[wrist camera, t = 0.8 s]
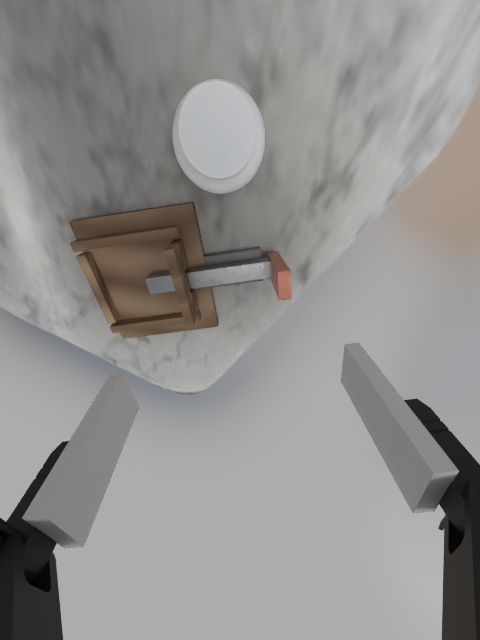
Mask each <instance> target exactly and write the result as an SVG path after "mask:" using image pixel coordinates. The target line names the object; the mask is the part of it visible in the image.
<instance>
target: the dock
mask: <svg viewBox="0 0 480 640" xmlns="http://www.w3.org/2000/svg"><path fill="white" fill-rule="evenodd" d="M69 223H70V226H71V228H72V230H73V232H74V234H75V236H76V239H77V240H76V241H74V242H71V243H70V245H71V247H72V249H73V251H74V252H78V251H82V252H83V253H82V254H80V255H78V256H76V257H77V259H78V261H79V263H80V266H81V268H82V270H83V272H84V274H85V276H86V278H87V280H88V282H89V284H90V286H91V288H92V291H93V293H94V295H95V297H96V299H97V301H98V303H99V305H100V307H101V309H102V311H103V313H104V316H105V318H106V320H107V322H108V324H110V323H113V324H112V325H111V326H110V328H111V330H112V332H113V333H117V332H120V334H121V336H122V338H123V339H125V338H133V337H140V336H148V335H155V334H163V333H171V332H178V331H186V330H194V329H201V328H209V327H216V326H218V318H217V313H216V308H215V303H214V298H213V293H212V289H211V287H218V286H225V285H232V284H240V283H247V282H254V281H261V280H263V279H259V280H252V281H244V282H237V283H230V284H222V285H215V286H208V287H201V288H193V289H190V288H189V284H188V280H187V276H186V272H185V269H187V268H194V267H201V266H209V265H216V264H223V263H230V262H237V261H244V260H251V259H258V258H261V249H260V247H255V248H248V249H241V250H234V251H227V252H220V253H213V254H206V255H204V250H203V245H202V240H201V235H200V231H199V226H198V221H197V216H196V211H195V206H194V202H193V203H186V204H180V205H173V206H166V207H160V208H153V209H146V210H140V211H133V212H126V213H120V214H113V215H106V216H100V217H93V218H87V219H80V220H74V221H70V222H69ZM166 271H170V274H171V278H172V281H173V284H174V288H175V291H171V292H164V293H157V294H150V292H149V289H148V286H147V283H146V281H145V278H146V277H147V276H148V275H149V274H152V273H159V272H166Z"/></svg>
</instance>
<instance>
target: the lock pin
mask: <svg viewBox="0 0 480 640" xmlns="http://www.w3.org/2000/svg"><path fill="white" fill-rule="evenodd" d="M185 272H186V276H187V280H188V284H189V288H190V289H193V288H201V287H208V286H215V285H222V284H230V283H237V282H244V281H252V280H259V279H266V278H270V279H271V281H272V284H273V286H274V289H275V291H276V294H277V296H278V299H279V300H285V299H291V280H290V269H289V268H288V266H287V265H286V263H285V262H284V260H283V259H282V257H281V256H280V254H279V253H278V252H272V253H268V257H266V258H258V259H251V260H244V261H237V262H230V263H223V264H216V265H209V266H201V267H194V268H187V269H185ZM145 281H146V283H147V286H148V289H149V292H150V294H157V293H164V292H171V291H175V288H174V284H173V281H172V278H171V274H170V271H166V272H159V273H152V274H149V275H148V276H147V277H146V278H145Z"/></svg>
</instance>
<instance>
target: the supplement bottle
mask: <svg viewBox="0 0 480 640" xmlns="http://www.w3.org/2000/svg"><path fill="white" fill-rule="evenodd" d="M172 140H173V147H174V152H175V155H176V158H177V161H178V163H179V165H180V167H181V169H182V170H183V172H184V173H185V175H186V176H187V177H188V178H189V179H190V180H191V181H192V182H193V183H194V184H195V185H197V186H198V187H199V188H201V189H203V190H205V191H207V192H210V193H215V194H227V193H231V192H234V191H237V190H239V189H240V188H242V187H243V186H245V185H246V184H247V183H248V182H249V181H250V180H251V179H252V178H253V177H254V175H255V174H256V172H257V171H258V169H259V167H260V164H261V162H262V159H263V155H264V150H265V128H264V123H263V120H262V116H261V114H260V111H259V109H258V107H257V105H256V103H255V102H254V100H253V99H252V97H251V96H250V95H249V94H248V93H247V92H246V91H245V90H244V89H243V88H242V87H240V86H239V85H237V84H236V83H234V82H231V81H229V80H225V79H208V80H204V81H202V82H200V83H198V84H196V85H195V86H193V87H192V88H191V89H190V90H189V91H188V92H187V93H186V94H185V95H184V96H183V98H182V99H181V101H180V103H179V105H178V107H177V109H176V112H175V116H174V120H173V127H172Z"/></svg>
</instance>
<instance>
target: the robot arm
mask: <svg viewBox="0 0 480 640" xmlns="http://www.w3.org/2000/svg"><path fill="white" fill-rule="evenodd" d="M341 382H342V384H343V385H344V387H345V389H346V391H347V393H348V395H349V397H350V399H351V400H352V402H353V404H354V406H355V408H356V410H357V411H358V413H359V415H360V417H361V419H362V421H363V422H364V424H365V426H366V428H367V430H368V432H369V434H370V435H371V437H372V439H373V441H374V443H375V445H376V446H377V448H378V450H379V452H380V454H381V456H382V457H383V459H384V461H385V463H386V465H387V466H388V468H389V470H390V472H391V474H392V476H393V478H394V479H395V481H396V483H397V485H398V487H399V489H400V490H401V492H402V494H403V496H404V498H405V500H406V501H407V503H408V505H409V507H410V509H411V510H412V512H413V513H421V512H430V511H435V509H436V508H437V506H438V505H439V504H440V506H441V507H442V509H443V510H444V512H445V514H446V515H445V517H444V518H443V520H442V521H441V523H440V526H439V529H440V530H443V529H445V531H444V572H443V615H442V616H443V617H442V619H443V620H442V640H480V465H479V464H478V462H477V461H476V460H475V459H474V458H473V457H472V455H471V454H470V453H469V452H468V451H467V450H466V449H465V447H464V446H463V445H462V444H461V443H460V442H459V441H458V439H457V438H456V437H455V436H454V435H453V434H452V432H450V431H449V430H448V428H447V427H446V426H445V424H444V423H443V422H441V421H440V419H439V417H438V416H437V415H436V414H435V413H434V412H433V411H432V409H431V408H429V407H428V406H427V405H425V404H424V403H422V402H421V401H419V400H418V399H411V400H403V398H402V397H401V396H400V395H399V394H398V392H397V391H396V389H395V388H394V387H393V386H392V384H391V383H390V382H389V381H388V379H387V378H386V377H385V375H384V374H383V373H382V372H381V370H380V369H379V368H378V366H377V365H376V364H375V363H374V361H373V360H372V359H371V358H370V356H369V355H368V354H367V353H366V351H365V350H364V348H363V347H362V346H361V345H360V343H353V344H346V345H345V347H344V356H343V366H342V375H341ZM138 409H139V404H138V402H137V400H136V398H135V396H134V394H133V393H132V391H131V389H130V387H129V385H128V383H127V381H126V379H125V377H124V375H123V374H116V375H110V376H109V377H108V378H107V380H106V382H105V383H104V385H103V387H102V388H101V390H100V392H99V393H98V395H97V396H96V398H95V400H94V401H93V403H92V405H91V406H90V408H89V409H88V411H87V413H86V414H85V416H84V418H83V419H82V421H81V422H80V424H79V426H78V427H77V429H76V431H75V432H74V434H73V436H72V437H71V439H70V440H69V441H66V442H62V443H61V444H60V445H59V446H58V447H57V448H56V449H55V450H54V451H53V452H52V453H51V454H50V456H49V457H48V459H47V461H46V462H45V464H44V465H43V468H42V469H41V470H40V471H39V473H38V474H37V476H36V479H34V481H33V482H32V484H31V485H30V487H29V488H28V490H27V491H26V493H25V494H24V496H23V497H22V499H21V501H20V502H19V504H18V505H17V507H16V508H15V510H14V511H13V513H12V514H11V516H10V517H9V519H8V520H7V522H5V521H4V520H2V519H1V518H0V640H63V634H62V624H61V612H60V602H59V591H58V581H57V570H56V559H55V556H54V554H53V553H52V552H53V550H54V547H55V545H56V543H58V544H59V545H60V546H62V547H63V548H75V547H84V545H85V542H86V540H87V537H88V535H89V532H90V529H91V527H92V524H93V522H94V519H95V517H96V514H97V512H98V509H99V507H100V504H101V502H102V499H103V497H104V494H105V492H106V489H107V487H108V484H109V482H110V479H111V477H112V474H113V472H114V469H115V467H116V464H117V462H118V459H119V457H120V454H121V452H122V449H123V446H124V444H125V442H126V439H127V436H128V434H129V431H130V429H131V426H132V424H133V421H134V419H135V416H136V414H137V411H138Z"/></svg>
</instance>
